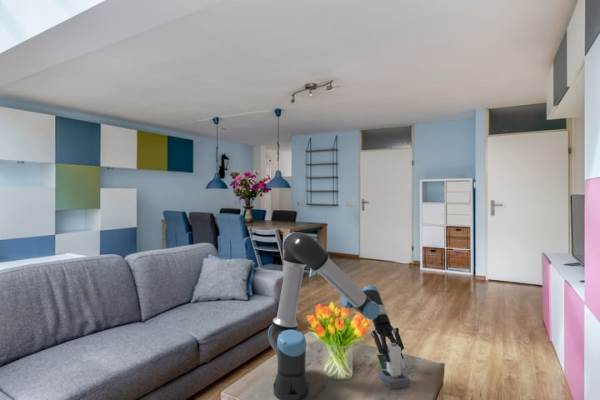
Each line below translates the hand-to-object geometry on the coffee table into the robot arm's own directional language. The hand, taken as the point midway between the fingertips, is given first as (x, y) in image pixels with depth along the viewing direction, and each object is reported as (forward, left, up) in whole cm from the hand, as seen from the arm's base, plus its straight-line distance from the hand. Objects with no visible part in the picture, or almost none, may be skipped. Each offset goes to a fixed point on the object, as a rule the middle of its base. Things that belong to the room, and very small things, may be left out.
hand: (398, 368), depth 151 cm
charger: (-3, +2, -4) cm, 5 cm away
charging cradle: (-3, +2, -7) cm, 8 cm away
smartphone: (-13, +16, -8) cm, 22 cm away
